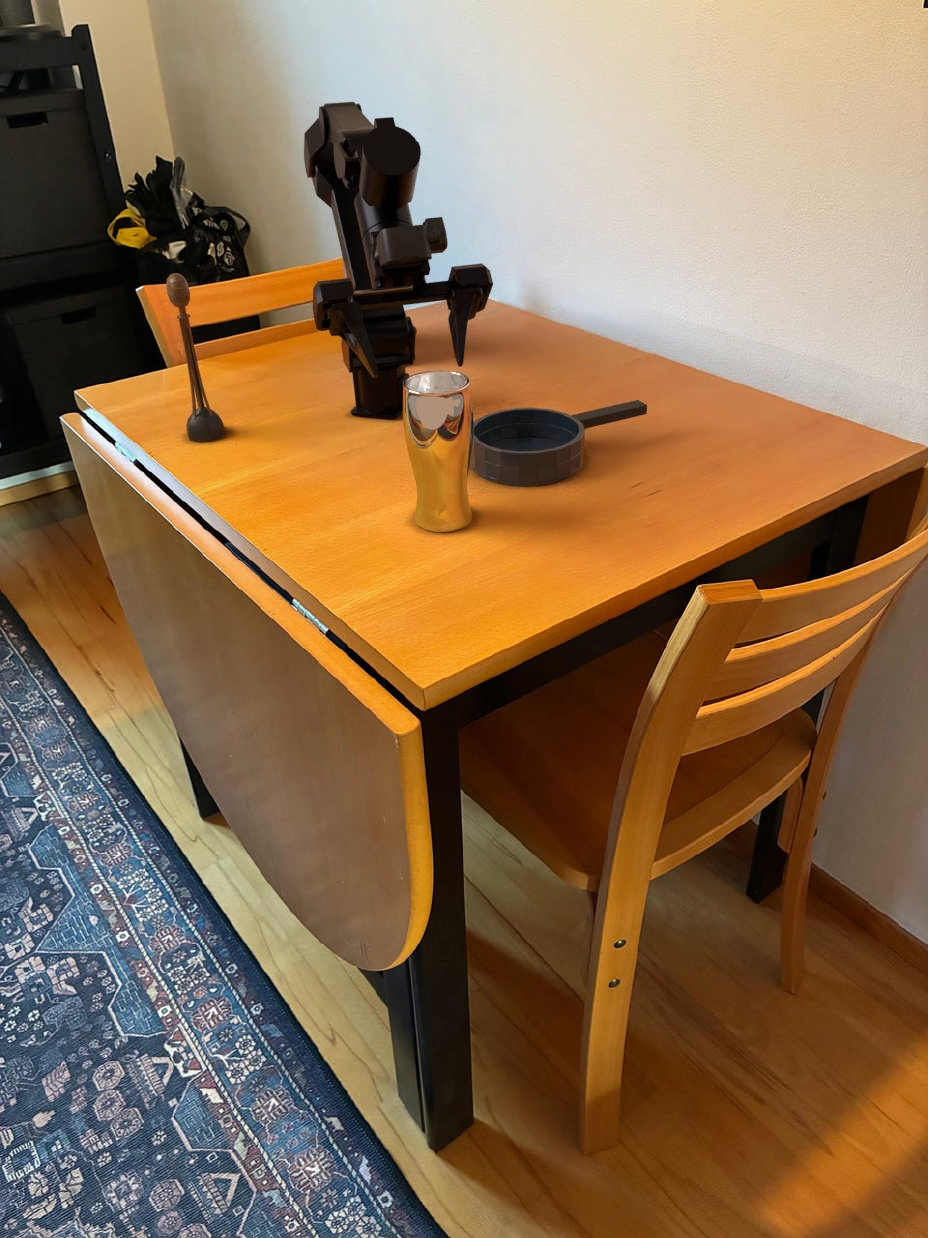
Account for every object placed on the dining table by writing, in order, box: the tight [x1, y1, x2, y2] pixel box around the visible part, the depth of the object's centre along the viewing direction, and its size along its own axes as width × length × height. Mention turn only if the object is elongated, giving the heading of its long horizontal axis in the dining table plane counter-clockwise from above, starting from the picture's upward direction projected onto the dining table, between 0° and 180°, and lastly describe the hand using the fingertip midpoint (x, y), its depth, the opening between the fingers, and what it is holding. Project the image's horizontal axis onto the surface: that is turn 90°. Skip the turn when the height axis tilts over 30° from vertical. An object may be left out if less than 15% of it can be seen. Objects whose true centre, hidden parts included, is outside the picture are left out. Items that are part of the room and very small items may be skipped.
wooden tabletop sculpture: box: [165, 272, 227, 443], centre depth 119 cm, size 6×5×20 cm
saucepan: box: [469, 407, 586, 487], centre depth 112 cm, size 13×13×4 cm
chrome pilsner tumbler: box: [402, 369, 475, 533], centre depth 98 cm, size 7×7×15 cm
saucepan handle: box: [570, 399, 648, 430], centre depth 115 cm, size 10×2×1 cm, turn 116°
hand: (418, 370), depth 101 cm, fingers open, 9 cm apart
